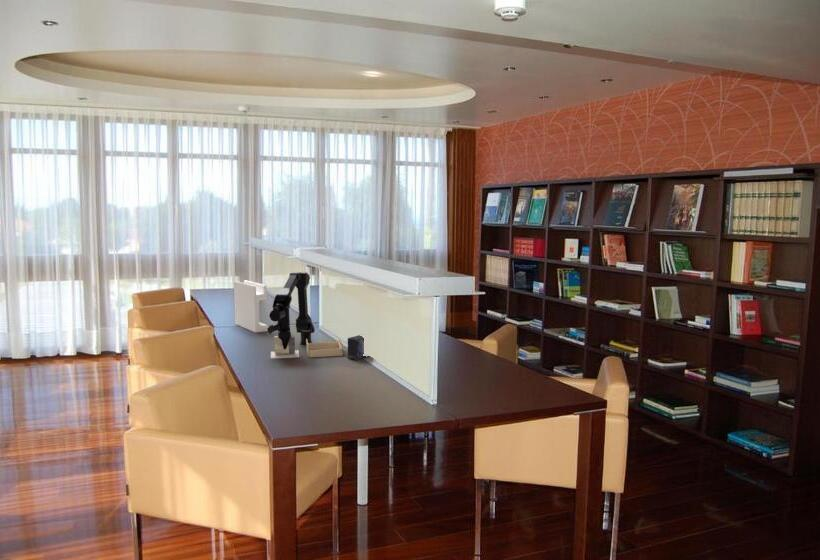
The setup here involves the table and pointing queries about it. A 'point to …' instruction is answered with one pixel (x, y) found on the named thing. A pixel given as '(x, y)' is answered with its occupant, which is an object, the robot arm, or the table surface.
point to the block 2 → (279, 345)
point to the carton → (325, 349)
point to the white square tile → (284, 355)
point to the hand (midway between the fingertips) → (284, 348)
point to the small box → (356, 347)
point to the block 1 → (249, 304)
